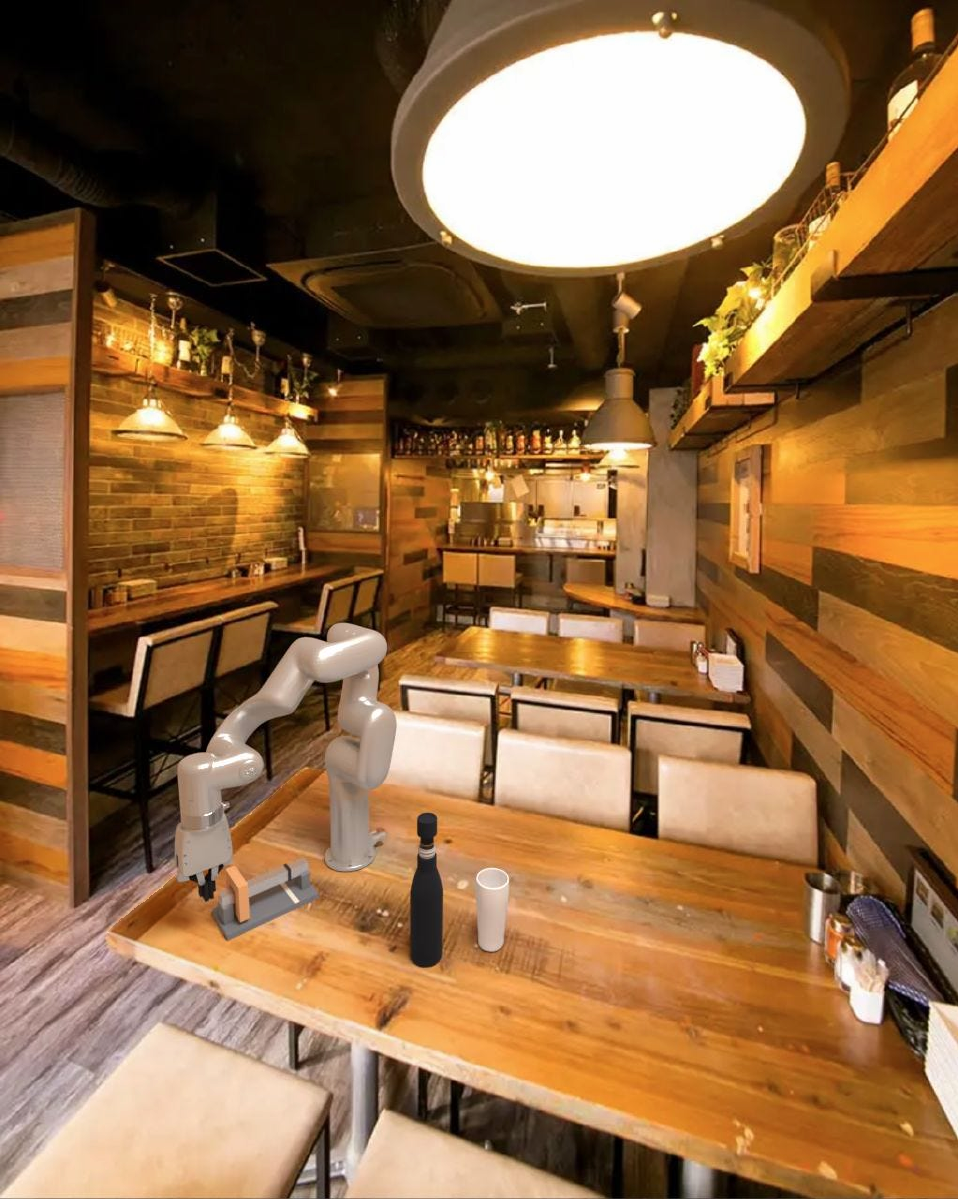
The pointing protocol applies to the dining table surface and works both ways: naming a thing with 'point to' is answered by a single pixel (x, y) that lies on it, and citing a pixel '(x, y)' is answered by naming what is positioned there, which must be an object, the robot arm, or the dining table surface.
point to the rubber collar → (238, 893)
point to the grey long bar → (266, 881)
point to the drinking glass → (491, 907)
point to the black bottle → (426, 898)
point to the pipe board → (267, 906)
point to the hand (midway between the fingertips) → (207, 896)
